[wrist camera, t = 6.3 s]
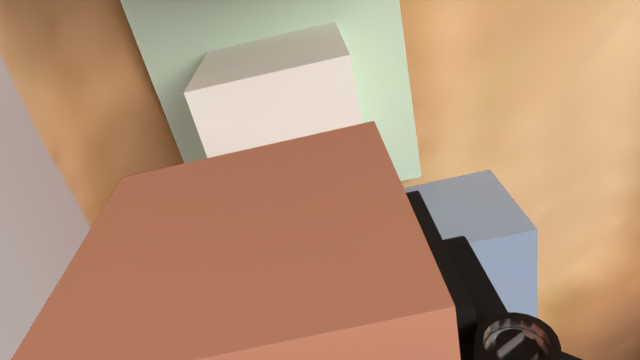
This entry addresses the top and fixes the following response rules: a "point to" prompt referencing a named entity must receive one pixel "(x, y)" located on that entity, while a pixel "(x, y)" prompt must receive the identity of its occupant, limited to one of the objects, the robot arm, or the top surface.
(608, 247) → the top surface
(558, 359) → the robot arm
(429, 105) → the top surface
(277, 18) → the plate
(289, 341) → the rust brick
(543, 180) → the top surface
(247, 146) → the ivory brick
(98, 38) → the top surface
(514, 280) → the slate brick
